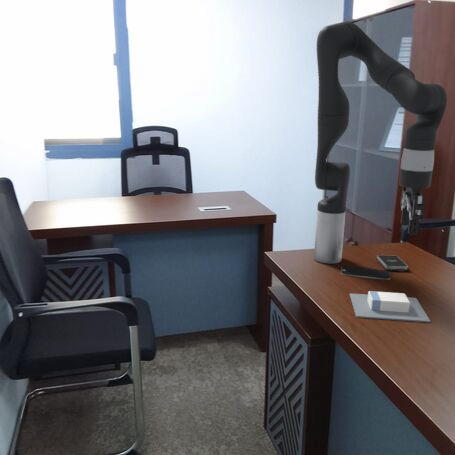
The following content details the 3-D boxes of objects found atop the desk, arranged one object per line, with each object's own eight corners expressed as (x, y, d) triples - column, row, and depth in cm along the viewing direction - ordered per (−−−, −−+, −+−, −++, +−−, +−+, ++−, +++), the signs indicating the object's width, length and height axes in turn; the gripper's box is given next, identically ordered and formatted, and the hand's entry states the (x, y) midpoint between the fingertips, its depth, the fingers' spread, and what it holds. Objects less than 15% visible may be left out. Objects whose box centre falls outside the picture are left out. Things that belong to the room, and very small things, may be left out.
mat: (349, 294, 132) (349, 293, 132) (415, 299, 129) (416, 297, 129) (356, 317, 118) (356, 315, 118) (430, 322, 116) (430, 321, 116)
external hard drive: (386, 272, 150) (387, 266, 150) (376, 260, 161) (376, 255, 160) (407, 272, 150) (408, 266, 150) (396, 260, 161) (396, 255, 160)
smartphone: (341, 265, 153) (389, 270, 149) (341, 267, 154) (389, 272, 150) (340, 273, 146) (390, 279, 142) (340, 276, 147) (390, 281, 143)
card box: (403, 303, 126) (404, 293, 125) (408, 312, 120) (410, 302, 120) (367, 300, 127) (368, 290, 126) (370, 309, 122) (371, 299, 121)
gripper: (440, 172, 109) (431, 238, 114) (424, 163, 123) (417, 222, 127) (407, 171, 110) (399, 237, 115) (395, 162, 124) (388, 221, 128)
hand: (408, 229), depth 121 cm, fingers open, 8 cm apart
